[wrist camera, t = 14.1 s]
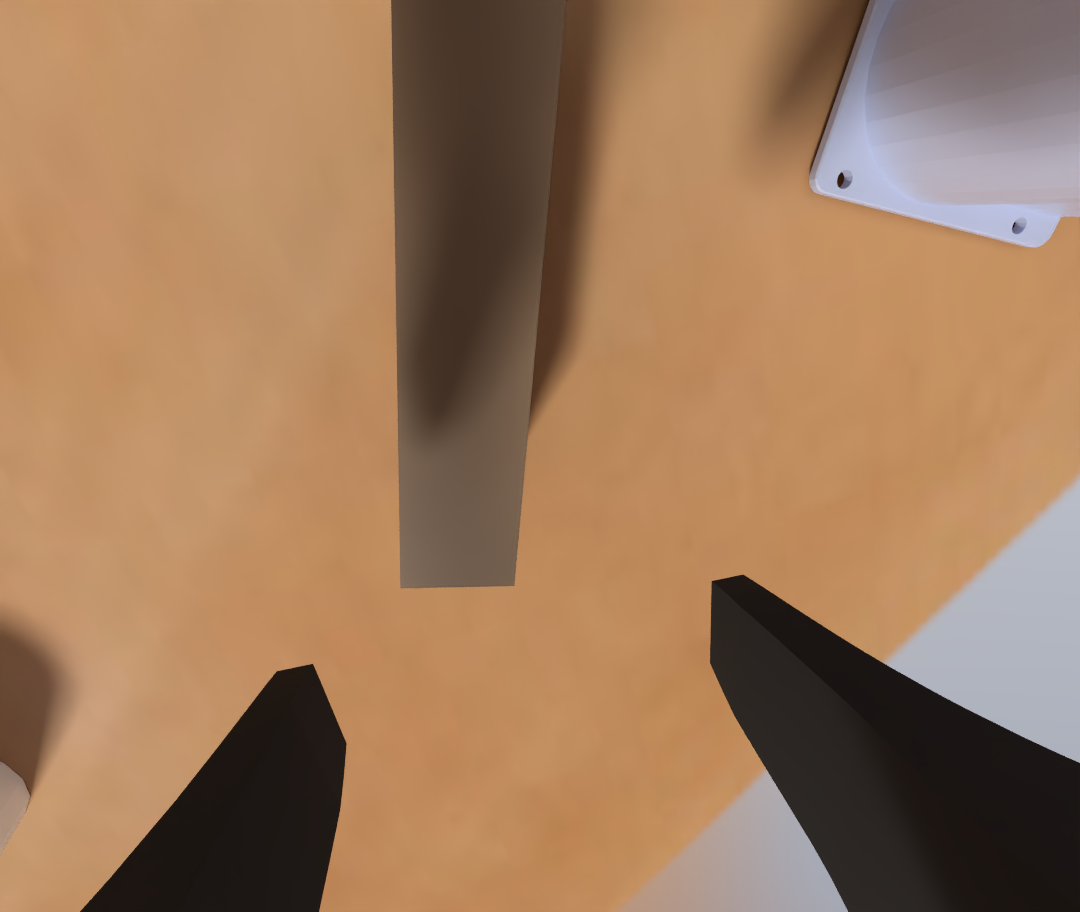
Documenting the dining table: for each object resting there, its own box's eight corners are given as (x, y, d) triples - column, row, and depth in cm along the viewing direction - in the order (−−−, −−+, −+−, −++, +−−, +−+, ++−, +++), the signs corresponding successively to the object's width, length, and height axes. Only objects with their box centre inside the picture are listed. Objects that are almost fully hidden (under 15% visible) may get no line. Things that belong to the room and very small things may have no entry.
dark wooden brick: (528, 21, 14) (576, -100, 9) (497, 485, 20) (514, 586, 14) (413, 2, 14) (389, -139, 8) (415, 483, 19) (400, 587, 14)
